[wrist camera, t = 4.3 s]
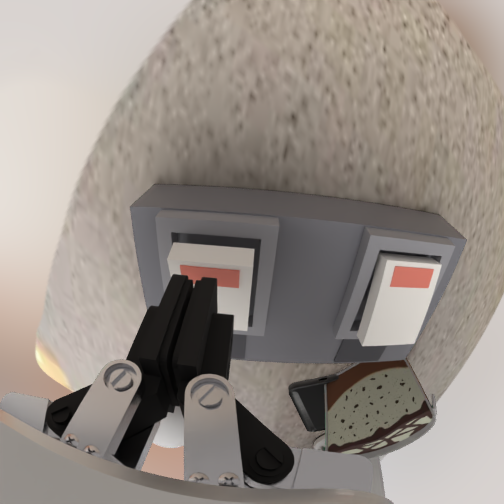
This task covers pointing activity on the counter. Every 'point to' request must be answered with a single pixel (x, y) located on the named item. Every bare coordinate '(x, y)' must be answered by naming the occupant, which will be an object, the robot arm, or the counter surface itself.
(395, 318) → the rocker
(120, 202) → the counter surface
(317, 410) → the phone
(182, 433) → the light bulb
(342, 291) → the rocker switch panel
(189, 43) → the counter surface
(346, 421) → the food container
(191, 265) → the rocker
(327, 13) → the counter surface
